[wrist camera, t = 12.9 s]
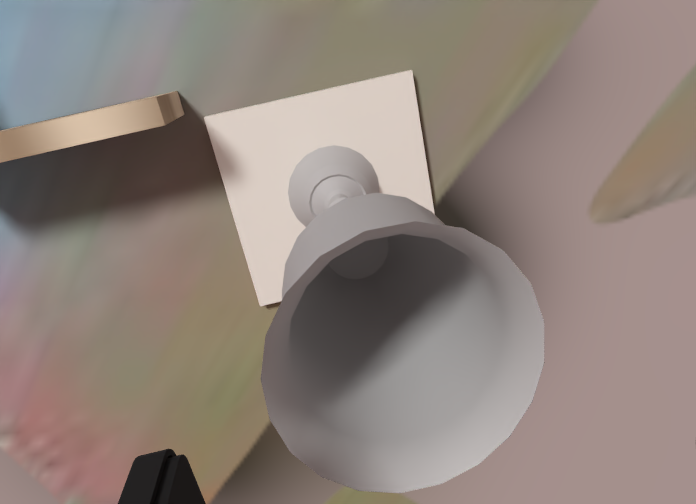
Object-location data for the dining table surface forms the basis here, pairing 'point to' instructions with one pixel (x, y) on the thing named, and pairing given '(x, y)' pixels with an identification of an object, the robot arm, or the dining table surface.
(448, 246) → the chalice
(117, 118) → the cubby
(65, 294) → the dining table surface
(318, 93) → the mat
